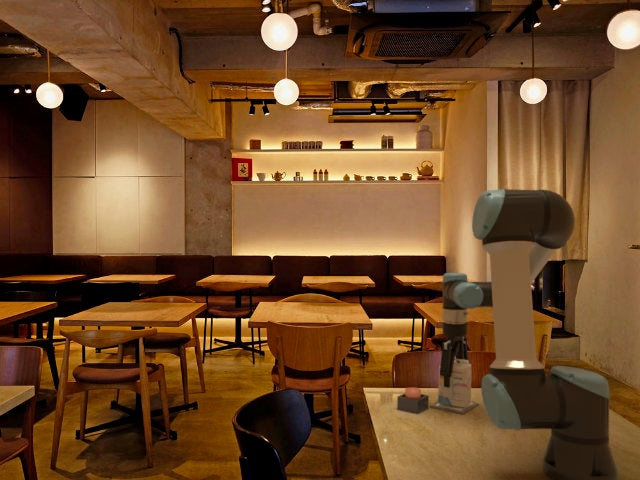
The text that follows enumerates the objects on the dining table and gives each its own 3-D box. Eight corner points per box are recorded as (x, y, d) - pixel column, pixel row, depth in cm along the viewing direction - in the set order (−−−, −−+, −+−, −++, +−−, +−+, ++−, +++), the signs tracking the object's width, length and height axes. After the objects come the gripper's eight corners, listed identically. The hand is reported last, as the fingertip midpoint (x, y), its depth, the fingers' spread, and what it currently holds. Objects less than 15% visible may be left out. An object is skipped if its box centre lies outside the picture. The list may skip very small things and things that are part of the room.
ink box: (437, 403, 167) (437, 360, 167) (444, 396, 175) (444, 355, 175) (465, 407, 163) (465, 363, 163) (471, 400, 170) (471, 358, 170)
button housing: (417, 414, 161) (417, 400, 161) (397, 409, 166) (397, 396, 166) (428, 408, 167) (428, 395, 167) (408, 404, 171) (408, 391, 171)
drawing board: (463, 414, 161) (463, 412, 161) (430, 407, 168) (430, 405, 168) (479, 405, 170) (479, 402, 170) (446, 398, 177) (446, 396, 177)
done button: (416, 405, 163) (416, 392, 163) (402, 402, 166) (402, 389, 166) (423, 402, 167) (423, 389, 167) (409, 399, 170) (409, 386, 170)
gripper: (451, 327, 158) (451, 404, 158) (479, 319, 175) (479, 388, 175) (427, 325, 163) (427, 399, 163) (458, 317, 180) (457, 384, 180)
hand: (454, 393), depth 169 cm, fingers open, 9 cm apart
